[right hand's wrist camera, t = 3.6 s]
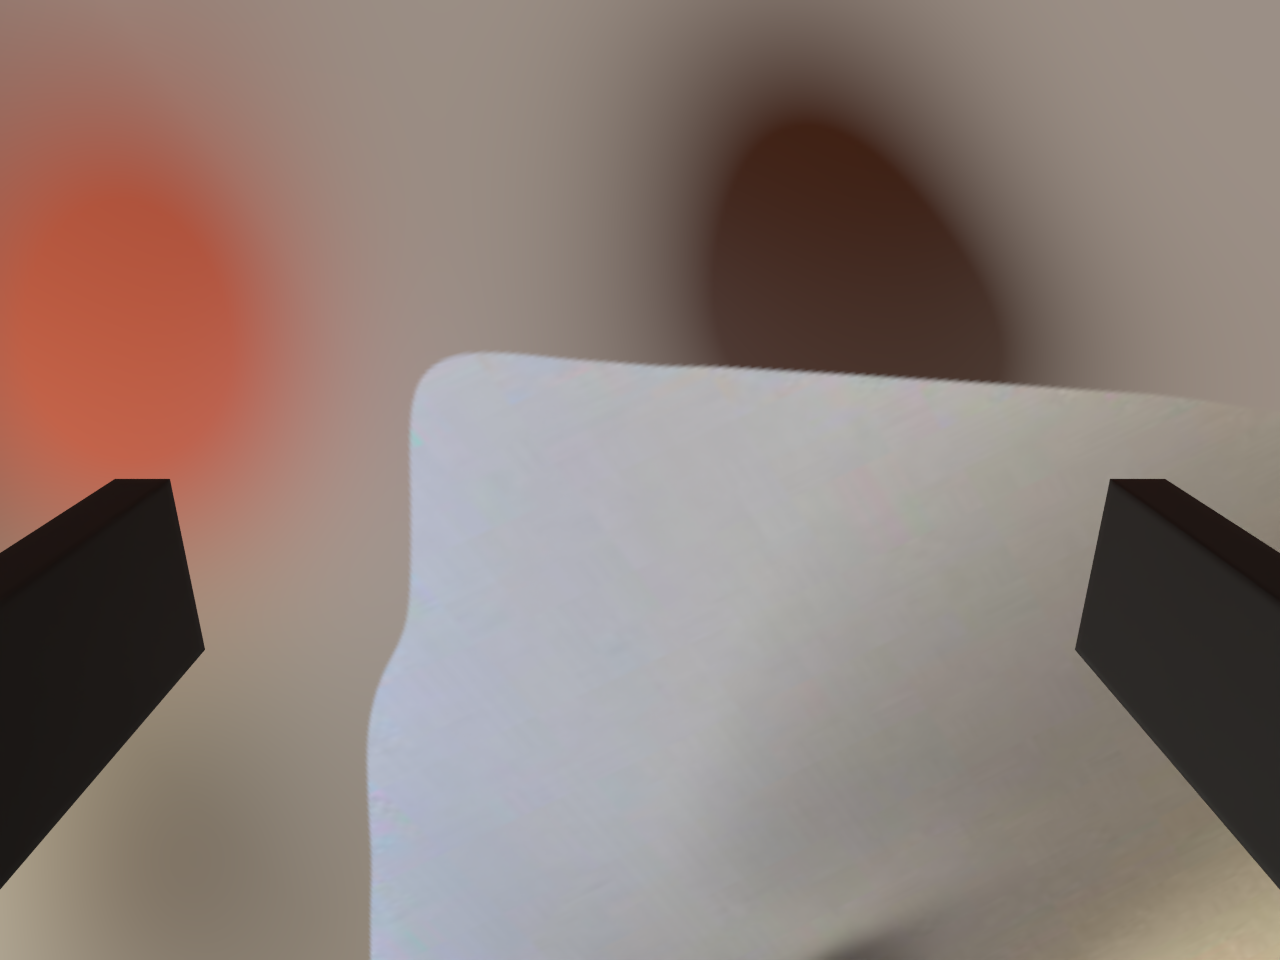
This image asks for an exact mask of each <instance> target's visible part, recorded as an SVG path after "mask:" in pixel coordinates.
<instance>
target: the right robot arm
mask: <svg viewBox="0 0 1280 960" xmlns="http://www.w3.org/2000/svg"><path fill="white" fill-rule="evenodd" d="M204 650H205V648H204V643H203V638H202V633H201V628H200V623H199V618H198V614H197V609H196V604H195V599H194V594H193V589H192V584H191V580H190V575H189V570H188V565H187V560H186V555H185V550H184V546H183V541H182V536H181V531H180V526H179V521H178V516H177V512H176V507H175V502H174V497H173V492H172V487H171V482H170V479H114V480H113V481H111V482H110V483H108V484H106V485H105V486H103V487H102V488H100V489H99V490H97V491H96V492H94V493H93V494H91V495H89V496H88V497H86V498H85V499H83V500H82V501H80V502H79V503H77V504H76V505H74V506H72V507H71V508H69V509H68V510H66V511H65V512H63V513H62V514H60V515H58V516H57V517H55V518H54V519H52V520H51V521H49V522H48V523H46V524H45V525H43V526H41V527H40V528H38V529H37V530H35V531H34V532H32V533H31V534H29V535H27V536H26V537H24V538H23V539H21V540H20V541H18V542H17V543H15V544H14V545H12V546H10V547H9V548H7V549H6V550H4V551H3V552H1V553H0V889H1V888H2V887H3V885H4V884H5V883H6V882H7V881H8V880H9V878H10V877H11V876H12V875H13V874H14V873H15V871H16V870H17V869H18V868H19V867H20V866H21V864H22V863H23V862H24V861H25V860H26V859H27V857H28V856H29V855H30V854H31V853H32V852H33V850H34V849H35V848H36V847H37V846H38V844H39V843H40V842H41V841H42V840H43V839H44V837H45V836H46V835H47V834H48V833H49V832H50V830H51V829H52V828H53V827H54V826H55V825H56V823H57V822H58V821H59V820H60V819H61V818H62V816H63V815H64V814H65V813H66V812H67V811H68V809H69V808H70V807H71V806H72V805H73V803H74V802H75V801H76V800H77V799H78V798H79V796H80V795H81V794H82V793H83V792H84V791H85V789H86V788H87V787H88V786H89V785H90V784H91V782H92V781H93V780H94V779H95V778H96V777H97V775H98V774H99V773H100V772H101V771H102V770H103V768H104V767H105V766H106V765H107V764H108V763H109V761H110V760H111V759H112V758H113V757H114V756H115V754H116V753H117V752H118V751H119V750H120V748H121V747H122V746H123V745H124V744H125V743H126V741H127V740H128V739H129V738H130V737H131V736H132V734H133V733H134V732H135V731H136V730H137V729H138V727H139V726H140V725H141V724H142V723H143V722H144V720H145V719H146V718H147V717H148V716H149V715H150V713H151V712H152V711H153V710H154V709H155V707H156V706H157V705H158V704H159V703H160V702H161V700H162V699H163V698H164V697H165V696H166V695H167V693H168V692H169V691H170V690H171V689H172V688H173V686H174V685H175V684H176V683H177V682H178V681H179V679H180V678H181V677H182V676H183V675H184V674H185V672H186V671H187V670H188V669H189V668H190V667H191V665H192V664H193V663H194V662H195V661H196V660H197V658H198V657H199V656H200V655H201V654H202V652H203V651H204ZM1075 650H1076V651H1077V652H1078V654H1079V655H1080V656H1081V657H1082V658H1083V660H1084V661H1085V662H1086V663H1087V664H1088V665H1089V667H1090V668H1091V669H1092V670H1093V671H1094V672H1095V674H1096V675H1097V676H1098V677H1099V678H1100V679H1101V681H1102V682H1103V683H1104V684H1105V685H1106V686H1107V688H1108V689H1109V690H1110V691H1111V692H1112V693H1113V695H1114V696H1115V697H1116V698H1117V699H1118V700H1119V702H1120V703H1121V704H1122V705H1123V706H1124V708H1125V709H1126V710H1127V711H1128V712H1129V713H1130V715H1131V716H1132V717H1133V718H1134V719H1135V720H1136V722H1137V723H1138V724H1139V725H1140V726H1141V727H1142V729H1143V730H1144V731H1145V732H1146V733H1147V734H1148V736H1149V737H1150V738H1151V739H1152V740H1153V741H1154V743H1155V744H1156V745H1157V746H1158V747H1159V748H1160V750H1161V751H1162V752H1163V753H1164V754H1165V756H1166V757H1167V758H1168V759H1169V760H1170V761H1171V763H1172V764H1173V765H1174V766H1175V767H1176V768H1177V770H1178V771H1179V772H1180V773H1181V774H1182V775H1183V777H1184V778H1185V779H1186V780H1187V781H1188V782H1189V784H1190V785H1191V786H1192V787H1193V788H1194V789H1195V791H1196V792H1197V793H1198V794H1199V795H1200V796H1201V798H1202V799H1203V800H1204V801H1205V802H1206V804H1207V805H1208V806H1209V807H1210V808H1211V809H1212V811H1213V812H1214V813H1215V814H1216V815H1217V816H1218V818H1219V819H1220V820H1221V821H1222V822H1223V823H1224V825H1225V826H1226V827H1227V828H1228V829H1229V830H1230V832H1231V833H1232V834H1233V835H1234V836H1235V837H1236V839H1237V840H1238V841H1239V842H1240V843H1241V845H1242V846H1243V847H1244V848H1245V849H1246V850H1247V852H1248V853H1249V854H1250V855H1251V856H1252V857H1253V859H1254V860H1255V861H1256V862H1257V863H1258V864H1259V866H1260V867H1261V868H1262V869H1263V870H1264V871H1265V873H1266V874H1267V875H1268V876H1269V877H1270V878H1271V880H1272V881H1273V882H1274V883H1275V884H1276V885H1277V887H1278V888H1279V889H1280V553H1279V552H1277V551H1276V550H1274V549H1273V548H1271V547H1270V546H1268V545H1267V544H1265V543H1263V542H1262V541H1260V540H1259V539H1257V538H1256V537H1254V536H1253V535H1251V534H1249V533H1248V532H1246V531H1245V530H1243V529H1242V528H1240V527H1239V526H1237V525H1236V524H1234V523H1232V522H1231V521H1229V520H1228V519H1226V518H1225V517H1223V516H1222V515H1220V514H1218V513H1217V512H1215V511H1214V510H1212V509H1211V508H1209V507H1208V506H1206V505H1205V504H1203V503H1201V502H1200V501H1198V500H1197V499H1195V498H1194V497H1192V496H1191V495H1189V494H1187V493H1186V492H1184V491H1183V490H1181V489H1180V488H1178V487H1177V486H1175V485H1174V484H1172V483H1170V482H1169V481H1167V480H1166V479H1110V482H1109V487H1108V492H1107V497H1106V502H1105V507H1104V512H1103V516H1102V521H1101V526H1100V531H1099V536H1098V541H1097V546H1096V550H1095V555H1094V560H1093V565H1092V570H1091V575H1090V580H1089V584H1088V589H1087V594H1086V599H1085V604H1084V609H1083V614H1082V618H1081V623H1080V628H1079V633H1078V638H1077V643H1076V648H1075Z"/></svg>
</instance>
